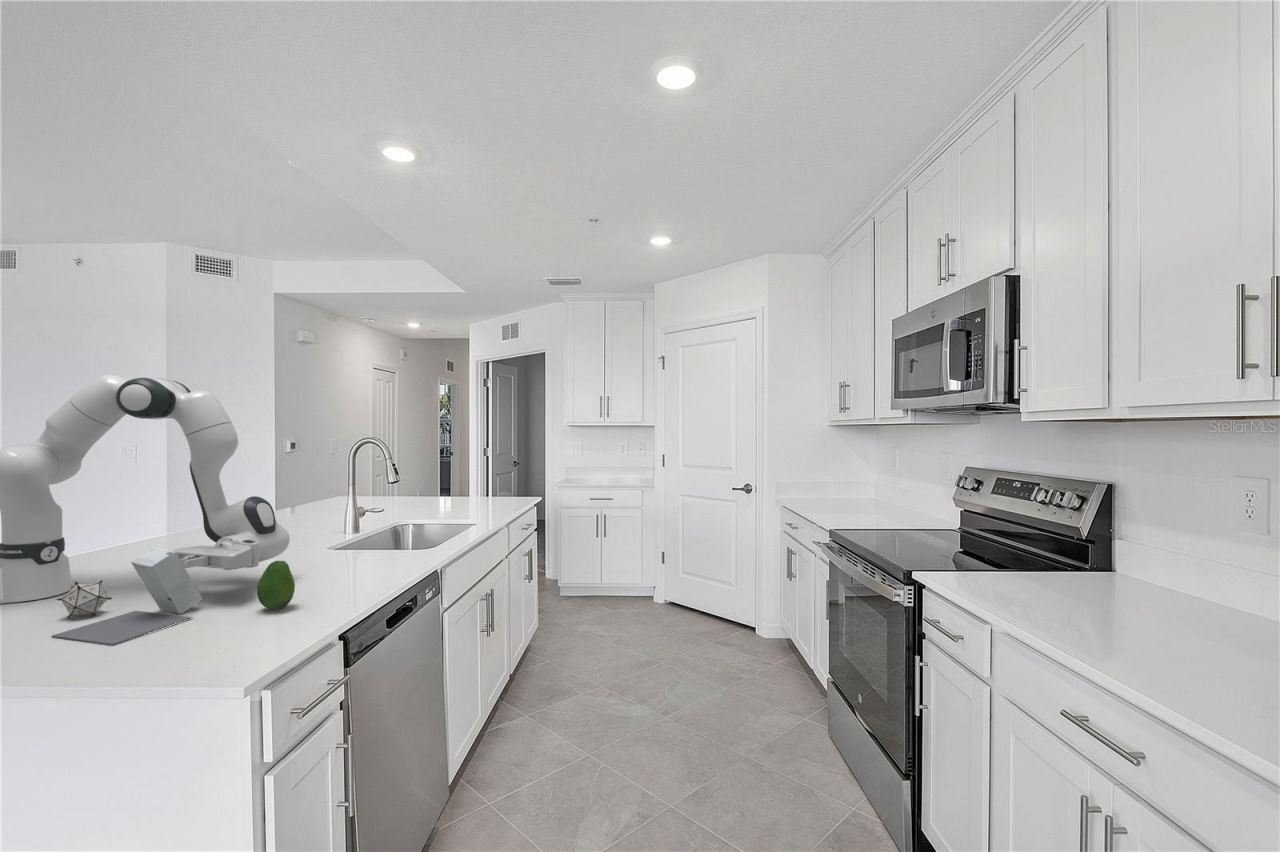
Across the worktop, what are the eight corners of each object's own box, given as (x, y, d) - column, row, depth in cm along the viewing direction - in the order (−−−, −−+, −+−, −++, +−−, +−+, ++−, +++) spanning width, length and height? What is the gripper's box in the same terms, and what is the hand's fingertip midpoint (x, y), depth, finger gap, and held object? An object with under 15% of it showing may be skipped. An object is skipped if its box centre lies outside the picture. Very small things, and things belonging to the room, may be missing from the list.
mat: (51, 637, 126) (51, 635, 126) (135, 612, 143) (135, 610, 143) (113, 645, 123) (113, 643, 123) (192, 619, 139) (192, 617, 139)
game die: (85, 633, 139) (69, 607, 133) (58, 618, 140) (42, 591, 134) (125, 605, 146) (112, 579, 140) (99, 590, 147) (85, 564, 141)
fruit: (250, 615, 142) (250, 565, 142) (265, 604, 150) (266, 557, 150) (286, 614, 144) (286, 564, 143) (299, 603, 151) (300, 556, 151)
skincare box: (159, 610, 145) (126, 562, 138) (183, 592, 150) (153, 546, 143) (181, 615, 142) (149, 566, 135) (205, 597, 146) (175, 549, 140)
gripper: (201, 538, 161) (147, 548, 147) (263, 542, 156) (214, 554, 142) (201, 561, 161) (147, 574, 147) (263, 566, 156) (214, 580, 143)
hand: (181, 564), depth 145 cm, fingers closed
